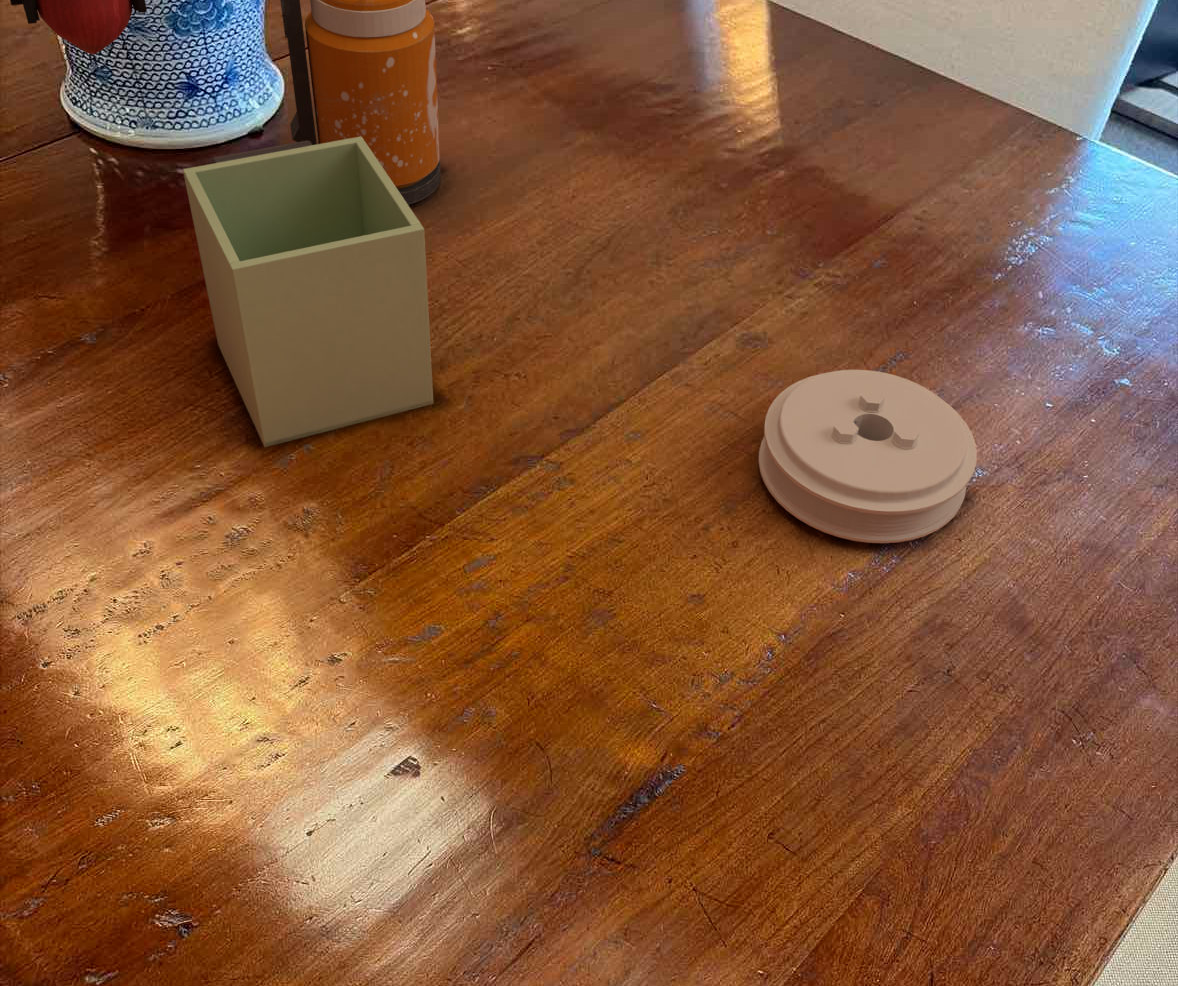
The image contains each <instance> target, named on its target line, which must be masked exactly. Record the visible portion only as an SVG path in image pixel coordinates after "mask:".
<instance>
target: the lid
mask: <svg viewBox="0 0 1178 986" xmlns="http://www.w3.org/2000/svg"><path fill="white" fill-rule="evenodd" d="M977 458H978V449H977V444H976V440H975V438H974V435H973V432H972V431H971V429H970V427H969V425H968V424H967V422H966V421H965V420H964V419H963V417H962V416H961V415H960V414H959V413H958V412H957V411H956V410H955V409H954V408H953V407H952V406H951V405H950V404H949V403H947V402H946V401H945V400H943V399H942V398H941V397H940V396H938V395H937V394H935V393H934V392H933V391H931V390H930V389H928V388H926V387H924V386H922V385H921V384H919V383H916V382H915V381H912V380H909V379H907V378H905V377H902V376H898V375H895V374H891V373H888V372H883V371H877V370H870V369H869V370H867V369H840V370H834V371H828V372H824V373H823V372H822V373H819V374H815V375H811V376H808V377H806V378H803V379H800V380H798V381H796V382H794V383H793V384H791V385H789V386H788V387H786V388H785V389H784V390H783V391H781V392H780V393H779V394H778V395H777V396H776V397H775V398H774V399H773V401H772V403H771V404H770V405H769V407H768V410H767V413H766V415H765V420H764V424H763V437H762V440H761V442H760V446H759V450H758V468H759V473H760V476H761V478H762V481H763V483H764V485H765V487H766V488H767V490H768V492H769V493H770V495H771V496H772V497H773V498H774V499H775V501H776V502H777V503H778V504H779V505H780V506H781V507H782V508H784V509H785V510H786V511H787V512H788V513H789V514H791V516H793V517H795V519H798V520H799V521H801V522H803V523H804V524H806V525H808V526H809V527H812V528H814V529H816V530H818V531H821V532H823V533H826V534H828V535H831V536H834V537H837V538H841V539H845V540H849V541H853V542H861V543H867V544H870V543H871V544H890V543H891V544H892V543H893V544H894V543H903V542H909V541H913V540H917V539H920V538H923V537H926V536H928V535H930V534H932V533H934V532H937V531H939V530H940V529H941V528H943V527H944V526H945V525H947V524H948V523H950V521H951V520H952V519H954V517H955V516H956V515H957V513H958V512H959V510H960V509H961V507H962V506H963V502H964V500H965V497H966V492H967V485H968V484H969V483H970V481H971V479H972V477H973V474H974V472H975V469H976V466H977Z"/></svg>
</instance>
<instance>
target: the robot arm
mask: <svg viewBox="0 0 1178 986" xmlns="http://www.w3.org/2000/svg"><path fill="white" fill-rule="evenodd" d="M9 1H10V2H9V3H10V5H11V6H20V5H21V6H23V11H24V14H25V17H26V21H27V24H28V25H31V24H37V23H38V22H39V21H41V20H40V15H39V12H38V10H37V7H36V2H35V0H9ZM132 9H133V10H134V12H137V13H138V14H141V13H142V14H143V13H147V12H148V10H147V9H148V8H147V4H146V0H132ZM37 21H38V22H37Z"/></svg>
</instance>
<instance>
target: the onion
mask: <svg viewBox="0 0 1178 986" xmlns="http://www.w3.org/2000/svg"><path fill="white" fill-rule="evenodd" d="M35 2H36V7H37V11H38V15H39V18H41V19H42V21H43V22H44V23H45V24H46V25H47V26H48V27H49V28H50V29H51V30H52V31H53V33H55V34H56V35H57V36H59V37H60V38H61V39H63V40H65V41H66V42H68V43H70V44H71V45H73V46H75V47H77V48H78V49H80V50H81V51H83V52H85V53H87V54H89V55H97V54H98V53H100V52H102V51H103V50H104V49H105V48H107V47H108V46H109V45H111V44H112V43H114V42H115V41H116V40H117V39H118V38H119V37H120V35H121V34H122V33H123V32H124V31H125V29H126V28H127V26H128V25H129V23H130V19H131V17H132V15H133V10H134V9H133V5H132V0H35Z"/></svg>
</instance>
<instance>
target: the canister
mask: <svg viewBox="0 0 1178 986" xmlns="http://www.w3.org/2000/svg"><path fill="white" fill-rule="evenodd" d="M426 6H427V5H426V0H310V12H309V13H308V14H307V15H306V17H305V19H304V22H303V15H302V8H301V7H302V6H301V0H280V8H281V15H282V23H283V30H284V31H283V32H284V38H285V39H287V46H288V47H287V48H288V53H289V55H288V56H289V61H290V62H289V63H290V71H291V78H292V86H293V93H294V100H295V101H294V102H295V110H296V111H295V114H294V116H293V118H292V120H291V122H290V123H289V126H290V135H291V140H292V141H294V142H295V143H297V142H302V141H310V142H311V144H312V145H317V144H323V143H328V142H333V141H339V140H344V139H350V138H355V137H362V138H363V139H364V141H365V142H366V144H367V145H368V147H369V148H370V150H371V151H372V153H373V154H374V156H375V157H376V158H377V160H378V161H379V163H380V164H381V166H382V167H383V169H384V170H385V172H386V173H387V175H388V176H389V178H390V179H391V181H392V182H393V184H394V185H395V187H396V188H397V189H398V191H399V192H400V194H401V195H402V197H403V198H404V200H405V201H406V203H407V204H408V206H410V205H411V204H414V203H417V202H419V201H422V200H424V199H425V198H427V197H428V196H430V195H431V194H432V193H434V192H435V191H436V189H437V188H438V186H439V185H440V182H441V179H442V177H441V174H442V173H441V160H440V159H441V153H440V151H441V149H440V148H441V147H440V128H439V127H440V126H439V107H438V105H439V103H438V101H439V100H438V80H437V78H438V77H437V55H436V32H435V18H434V17H433V15H432V14H431V12H430V11H429V10H428V9H427V7H426ZM303 23H304V24H303ZM304 30H305V33H304ZM305 38H306V41H305ZM306 46H307V47H306ZM306 48H307V49H306ZM306 50H307V51H306ZM307 55H308V58H307ZM308 63H309V67H308ZM309 72H310V76H309ZM310 80H311V82H310ZM310 83H311V84H310ZM311 88H312V91H311ZM312 97H313V101H312ZM313 107H314V109H313ZM314 114H315V118H314ZM315 124H316V125H315ZM316 132H317V134H316ZM317 140H318V141H317ZM317 142H318V143H317Z"/></svg>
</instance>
